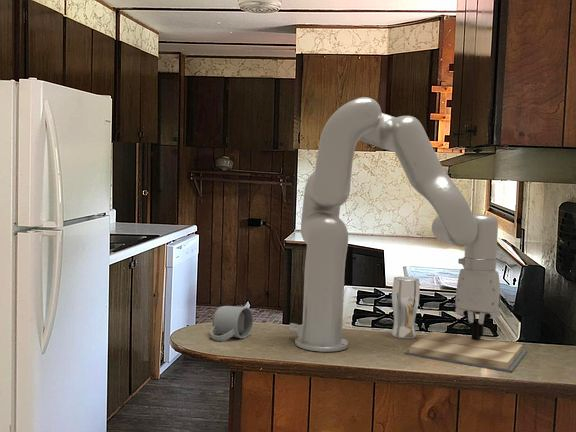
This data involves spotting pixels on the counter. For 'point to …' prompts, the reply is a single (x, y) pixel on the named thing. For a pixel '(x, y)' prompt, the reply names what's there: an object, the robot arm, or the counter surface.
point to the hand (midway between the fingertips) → (476, 338)
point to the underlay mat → (476, 364)
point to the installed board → (463, 353)
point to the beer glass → (405, 306)
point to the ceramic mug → (231, 322)
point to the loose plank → (475, 342)
